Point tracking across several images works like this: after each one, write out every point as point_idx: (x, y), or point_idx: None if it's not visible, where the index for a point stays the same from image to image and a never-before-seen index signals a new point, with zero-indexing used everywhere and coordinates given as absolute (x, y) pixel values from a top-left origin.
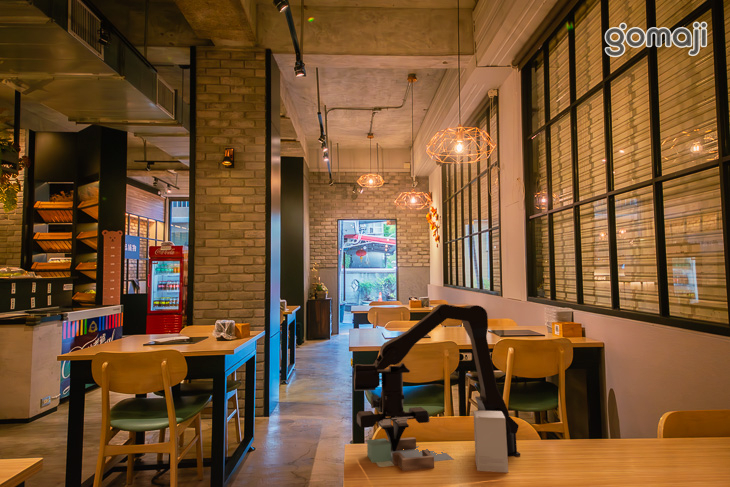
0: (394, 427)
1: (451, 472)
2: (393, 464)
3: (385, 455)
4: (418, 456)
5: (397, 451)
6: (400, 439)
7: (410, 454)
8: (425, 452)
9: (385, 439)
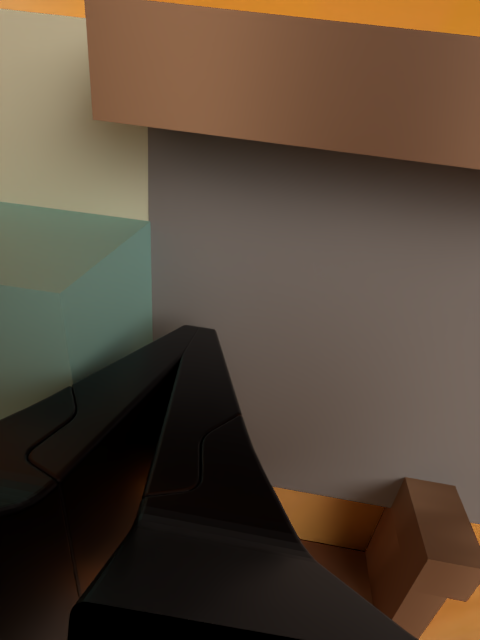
0: (126, 625)
1: (441, 625)
2: None
3: None
4: (432, 408)
5: (316, 195)
6: (454, 121)
7: (398, 336)
8: (406, 603)
9: (54, 348)
